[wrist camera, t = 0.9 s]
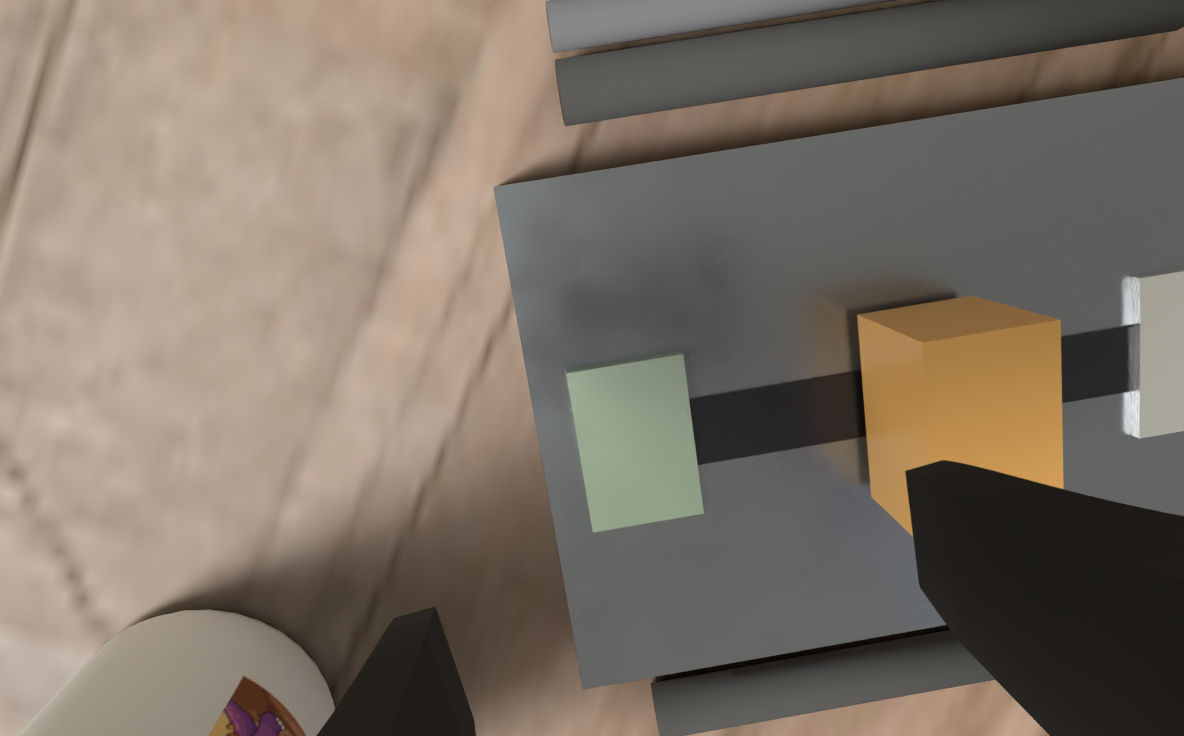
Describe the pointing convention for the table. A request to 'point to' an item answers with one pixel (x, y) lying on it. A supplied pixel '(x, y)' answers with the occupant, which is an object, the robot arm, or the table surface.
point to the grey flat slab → (825, 356)
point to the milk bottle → (191, 683)
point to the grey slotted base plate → (779, 64)
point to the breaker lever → (960, 393)
